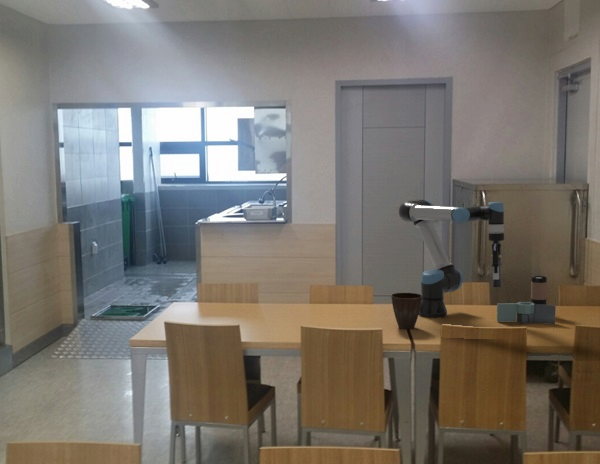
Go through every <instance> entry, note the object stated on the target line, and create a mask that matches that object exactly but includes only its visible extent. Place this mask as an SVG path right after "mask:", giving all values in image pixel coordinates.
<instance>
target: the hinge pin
mask: <svg viewBox="0 0 600 464" xmlns="http://www.w3.org/2000/svg"><path fill="white" fill-rule="evenodd" d="M490 257H491V258H492V262H493V257H492V254H491V255H490ZM498 258H499V262H498V265H499V280H498V279H493V278H492V287H493V288H501V287H502V265H501V264H502V262H501V261H502V258H503V255H502V254H501V255H499V256H498Z"/></svg>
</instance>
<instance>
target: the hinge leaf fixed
mask: <svg viewBox="0 0 600 464" xmlns="http://www.w3.org/2000/svg"><path fill="white" fill-rule="evenodd" d="M556 307H557V306H556V304H546V305H544V304H535V313H533V314H520V313H517V315H516V323H519V324H525V325H526V324H527V325H530V324H548V325H555V324H556Z"/></svg>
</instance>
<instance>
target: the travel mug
mask: <svg viewBox="0 0 600 464" xmlns="http://www.w3.org/2000/svg"><path fill="white" fill-rule="evenodd" d="M530 280H531V281H530V282H531V283H530V303H534V304H544V305H547V286H548V283H547V281H548V278H547V277H546V276H544V275H535V276H531V279H530Z"/></svg>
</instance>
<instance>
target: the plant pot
mask: <svg viewBox="0 0 600 464" xmlns="http://www.w3.org/2000/svg"><path fill="white" fill-rule="evenodd" d="M390 296H391V303H392V309H393V313H394V314H393V315H394V317H395V318H394V319H395V320H396V323H397V327H398V328H399V329H402V330H412V329H414V328H415V327H416V323H417V320H418V317H419V311H420V307H421V301H422V295H421V294H420V293H416V292H415V293H414V292H396V293H391V295H390Z"/></svg>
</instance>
